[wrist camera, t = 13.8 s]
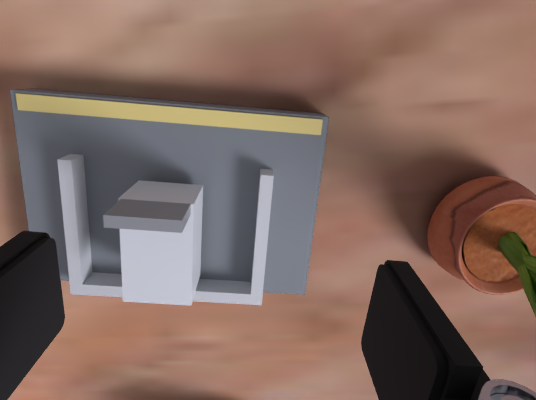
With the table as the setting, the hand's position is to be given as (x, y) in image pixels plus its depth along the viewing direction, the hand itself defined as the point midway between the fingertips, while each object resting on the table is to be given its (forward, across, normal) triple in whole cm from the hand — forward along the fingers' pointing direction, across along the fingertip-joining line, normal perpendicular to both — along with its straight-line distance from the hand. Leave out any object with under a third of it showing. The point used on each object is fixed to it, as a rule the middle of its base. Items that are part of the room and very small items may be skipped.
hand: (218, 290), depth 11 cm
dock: (+22, +6, +5) cm, 24 cm away
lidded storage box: (+19, +6, +7) cm, 21 cm away
